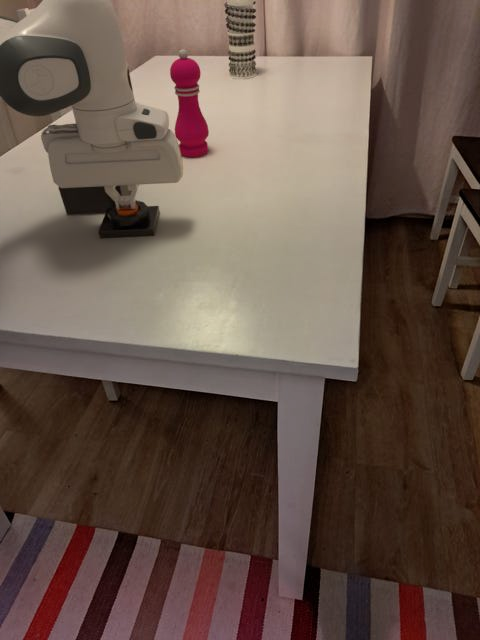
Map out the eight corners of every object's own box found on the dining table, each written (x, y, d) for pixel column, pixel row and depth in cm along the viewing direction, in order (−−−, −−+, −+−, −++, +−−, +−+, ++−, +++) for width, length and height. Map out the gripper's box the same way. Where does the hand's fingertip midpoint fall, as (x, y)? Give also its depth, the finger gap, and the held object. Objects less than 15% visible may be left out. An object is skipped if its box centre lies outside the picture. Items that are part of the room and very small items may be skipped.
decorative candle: (228, 72, 152) (223, -23, 135) (257, 71, 151) (255, -24, 135) (227, 79, 145) (221, -19, 128) (257, 78, 144) (255, -21, 128)
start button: (116, 222, 77) (114, 213, 76) (120, 212, 80) (118, 203, 79) (138, 221, 77) (136, 212, 76) (141, 211, 80) (139, 202, 79)
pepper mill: (187, 161, 99) (174, 55, 86) (171, 151, 103) (157, 49, 90) (216, 152, 102) (208, 49, 88) (200, 143, 106) (190, 43, 93)
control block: (100, 238, 76) (95, 222, 75) (109, 215, 82) (105, 199, 81) (154, 236, 76) (151, 220, 74) (159, 212, 82) (157, 197, 80)
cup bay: (66, 215, 83) (57, 187, 80) (81, 188, 91) (73, 162, 88) (125, 212, 83) (119, 184, 79) (134, 185, 91) (129, 159, 87)
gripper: (30, 133, 66) (59, 220, 75) (174, 126, 65) (185, 214, 74) (43, 118, 70) (69, 202, 80) (177, 111, 70) (188, 196, 79)
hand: (126, 208), depth 77 cm, fingers closed, pressing on start button
